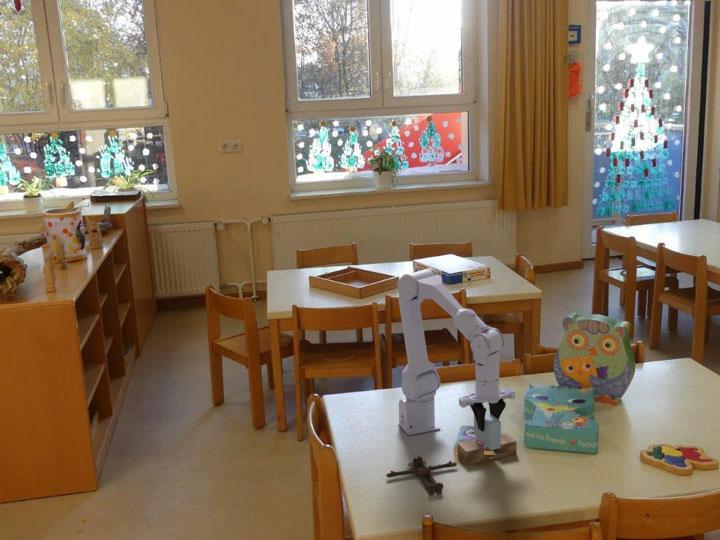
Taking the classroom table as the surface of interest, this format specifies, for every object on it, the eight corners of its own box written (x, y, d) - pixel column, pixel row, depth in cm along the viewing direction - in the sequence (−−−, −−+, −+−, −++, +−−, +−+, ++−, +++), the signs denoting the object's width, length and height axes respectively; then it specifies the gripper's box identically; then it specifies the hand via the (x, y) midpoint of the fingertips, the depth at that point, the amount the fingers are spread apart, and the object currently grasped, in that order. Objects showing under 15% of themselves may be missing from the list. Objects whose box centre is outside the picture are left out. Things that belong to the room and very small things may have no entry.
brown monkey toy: (398, 491, 171) (380, 456, 184) (398, 506, 172) (380, 471, 186) (472, 478, 175) (450, 444, 189) (472, 493, 177) (449, 459, 190)
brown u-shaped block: (466, 464, 187) (466, 451, 186) (457, 455, 191) (457, 442, 190) (516, 453, 191) (516, 441, 190) (506, 445, 195) (506, 432, 195)
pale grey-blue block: (490, 450, 186) (490, 424, 184) (473, 434, 194) (473, 409, 192) (500, 448, 186) (500, 421, 185) (483, 432, 195) (483, 407, 193)
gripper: (467, 388, 180) (468, 440, 183) (521, 378, 184) (520, 429, 188) (455, 378, 187) (455, 428, 190) (507, 369, 191) (506, 418, 194)
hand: (487, 428), depth 189 cm, fingers closed on pale grey-blue block, 3 cm apart
